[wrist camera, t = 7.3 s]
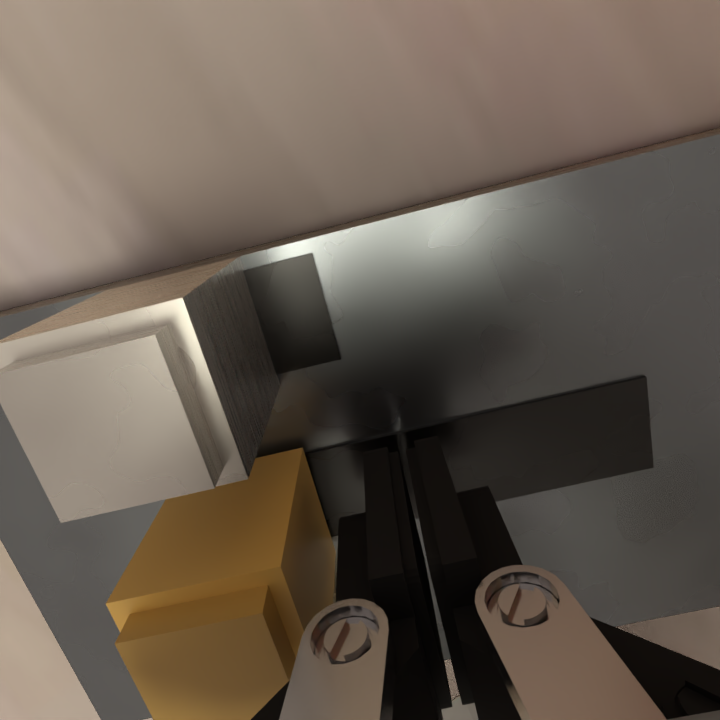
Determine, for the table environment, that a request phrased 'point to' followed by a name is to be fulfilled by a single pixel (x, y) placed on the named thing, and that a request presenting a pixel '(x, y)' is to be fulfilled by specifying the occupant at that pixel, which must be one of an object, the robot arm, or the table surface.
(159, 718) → the orange rectangular block
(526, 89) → the table surface
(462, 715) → the french press
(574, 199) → the panel
